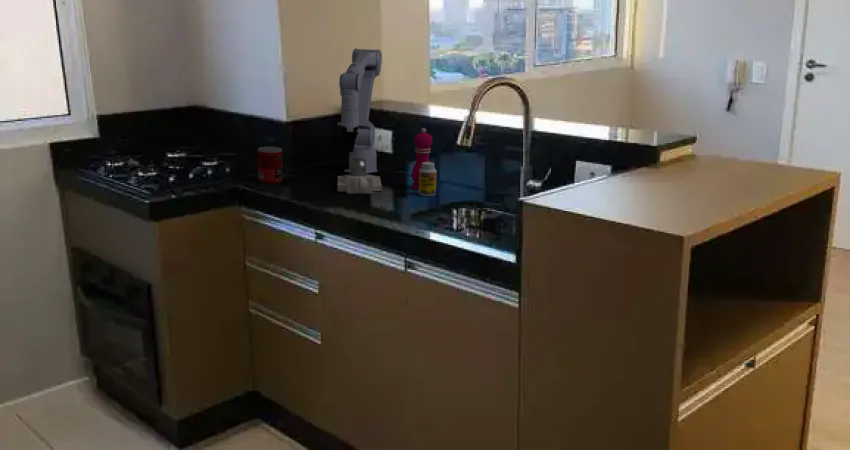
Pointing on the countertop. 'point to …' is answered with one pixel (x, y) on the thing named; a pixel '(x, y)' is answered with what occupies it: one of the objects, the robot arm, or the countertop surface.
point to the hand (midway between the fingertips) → (349, 150)
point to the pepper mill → (420, 155)
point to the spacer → (358, 167)
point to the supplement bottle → (427, 179)
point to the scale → (359, 183)
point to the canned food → (270, 164)
